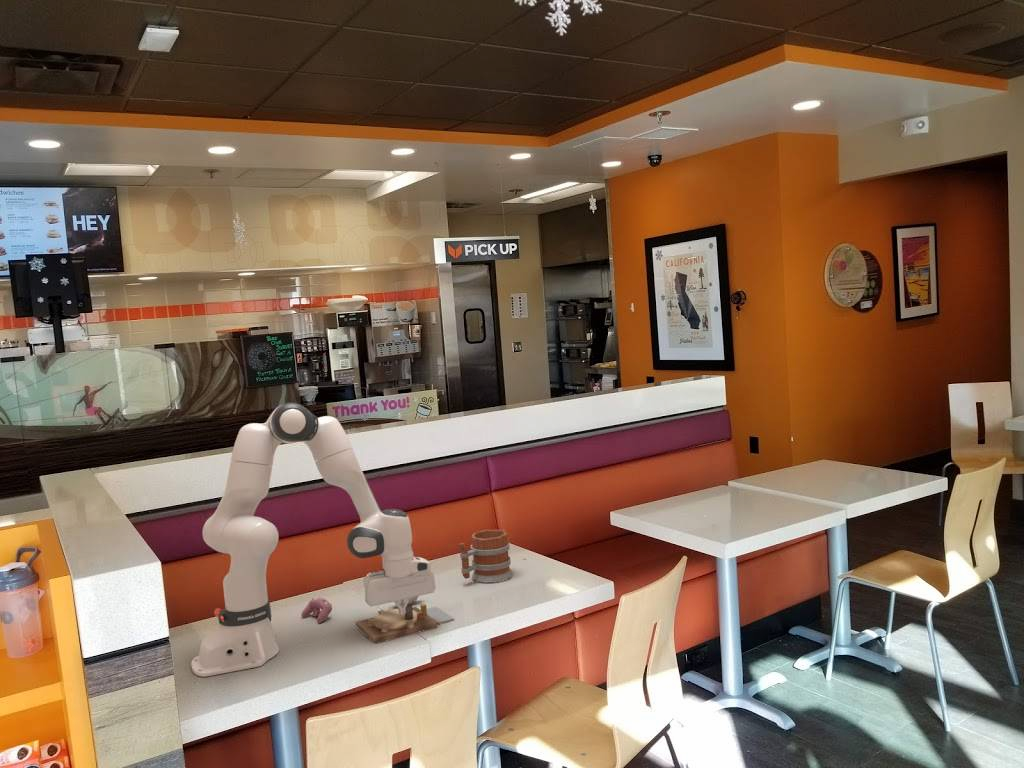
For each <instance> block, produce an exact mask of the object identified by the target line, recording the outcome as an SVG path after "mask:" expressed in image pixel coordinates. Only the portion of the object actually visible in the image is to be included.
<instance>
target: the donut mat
mask: <svg viewBox="0 0 1024 768" xmlns="http://www.w3.org/2000/svg"><path fill="white" fill-rule="evenodd" d="M426 609H427V615H428V616H430V617H431V618H432V619H434V620H435V621H437V625H442V624H446V623H450V621H451V622H453V621H454V622H455V618H454V617H453V616H451V615H450V614H448V613H447V612H446V611H443V610H442V609H441V608H440V607H438V606H432V607H429V608H426Z"/></svg>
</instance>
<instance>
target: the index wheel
mask: <svg viewBox="0 0 1024 768" xmlns="http://www.w3.org/2000/svg"><path fill="white" fill-rule="evenodd" d="M412 608H413V603H412V604H411V603H408V604H407V606H406V611H405V612H406V614H404V615H399V610H398V608H393V609H389V610H383V609H380V610H378V613H377V614H376V615H375V616H374V619H369V618H367V619H368V623H369V627H370V626H375V627H377V628H379V629H382V632H387V631H388V630H395V629H401V628H405V627H408V628H412V627H414V623H416V622H417V619H422V618H423V612H422V611H421V612H416V611H414V610H413V609H412Z"/></svg>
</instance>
